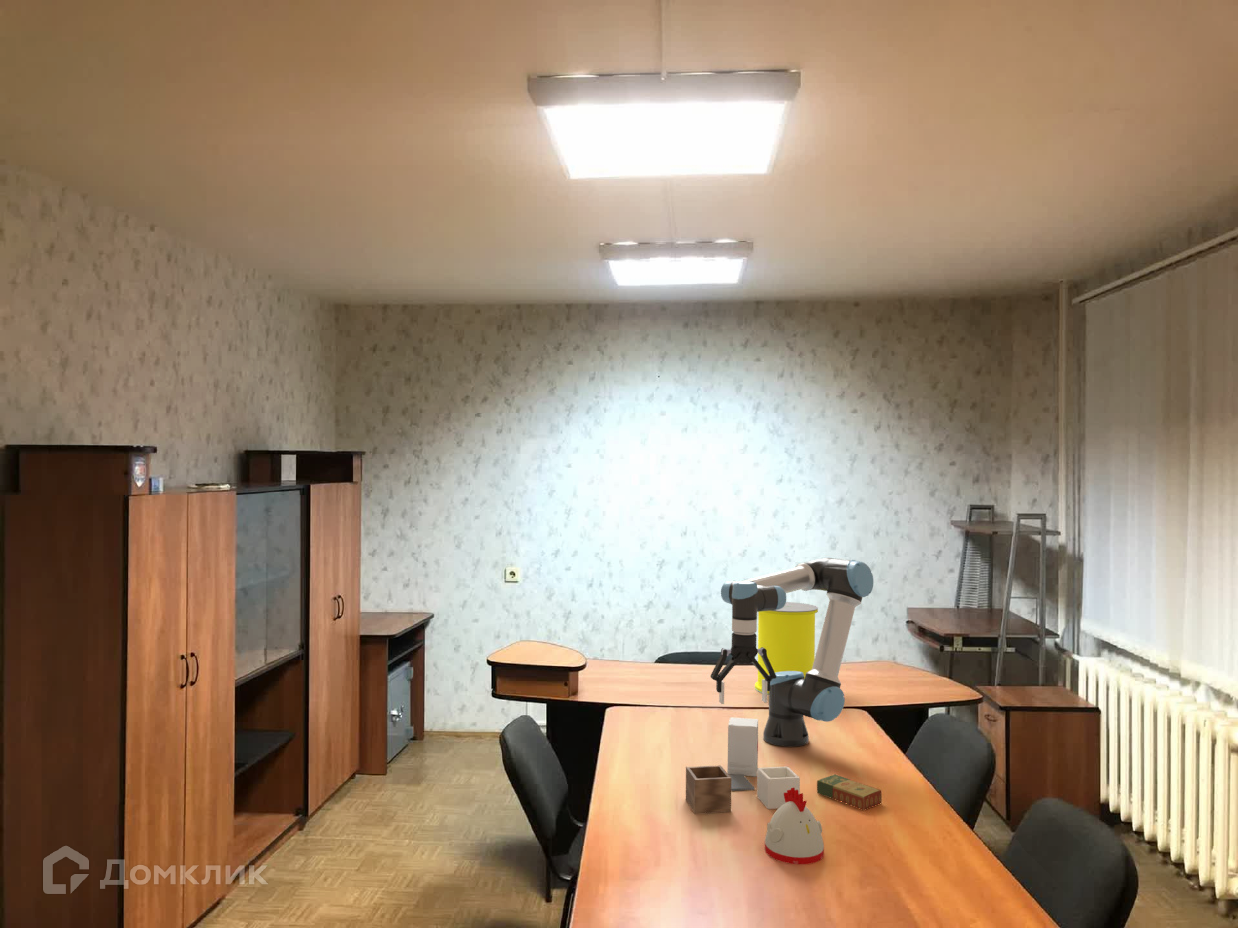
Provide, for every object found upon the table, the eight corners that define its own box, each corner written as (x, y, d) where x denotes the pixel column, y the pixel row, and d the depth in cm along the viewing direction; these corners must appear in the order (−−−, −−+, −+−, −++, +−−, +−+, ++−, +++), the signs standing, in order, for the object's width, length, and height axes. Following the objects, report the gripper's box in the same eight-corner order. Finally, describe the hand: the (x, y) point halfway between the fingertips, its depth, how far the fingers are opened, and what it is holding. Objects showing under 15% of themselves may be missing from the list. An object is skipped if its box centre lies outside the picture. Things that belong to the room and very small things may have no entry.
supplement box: (757, 777, 254) (757, 726, 254) (726, 774, 256) (727, 724, 256) (758, 766, 263) (758, 718, 263) (729, 764, 265) (729, 716, 265)
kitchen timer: (786, 868, 195) (787, 803, 195) (753, 844, 208) (754, 782, 208) (835, 858, 201) (836, 794, 201) (801, 835, 213) (801, 775, 213)
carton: (863, 811, 229) (863, 796, 229) (816, 793, 242) (816, 778, 242) (881, 804, 235) (881, 788, 235) (834, 787, 247) (834, 772, 247)
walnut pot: (720, 797, 237) (720, 765, 237) (731, 811, 227) (731, 777, 228) (685, 799, 236) (685, 766, 236) (694, 813, 226) (695, 779, 226)
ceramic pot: (787, 794, 240) (787, 766, 240) (799, 806, 231) (799, 777, 231) (757, 796, 239) (757, 767, 239) (767, 808, 230) (768, 779, 230)
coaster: (742, 776, 255) (742, 774, 255) (754, 789, 244) (754, 787, 244) (707, 777, 253) (707, 775, 253) (717, 791, 242) (717, 789, 242)
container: (754, 680, 374) (755, 600, 374) (814, 683, 370) (815, 602, 371) (755, 695, 348) (756, 610, 349) (820, 698, 344) (820, 612, 345)
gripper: (778, 629, 265) (777, 697, 265) (701, 630, 261) (700, 700, 261) (787, 634, 258) (786, 704, 258) (708, 635, 254) (706, 706, 254)
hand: (743, 702), depth 259 cm, fingers open, 13 cm apart
